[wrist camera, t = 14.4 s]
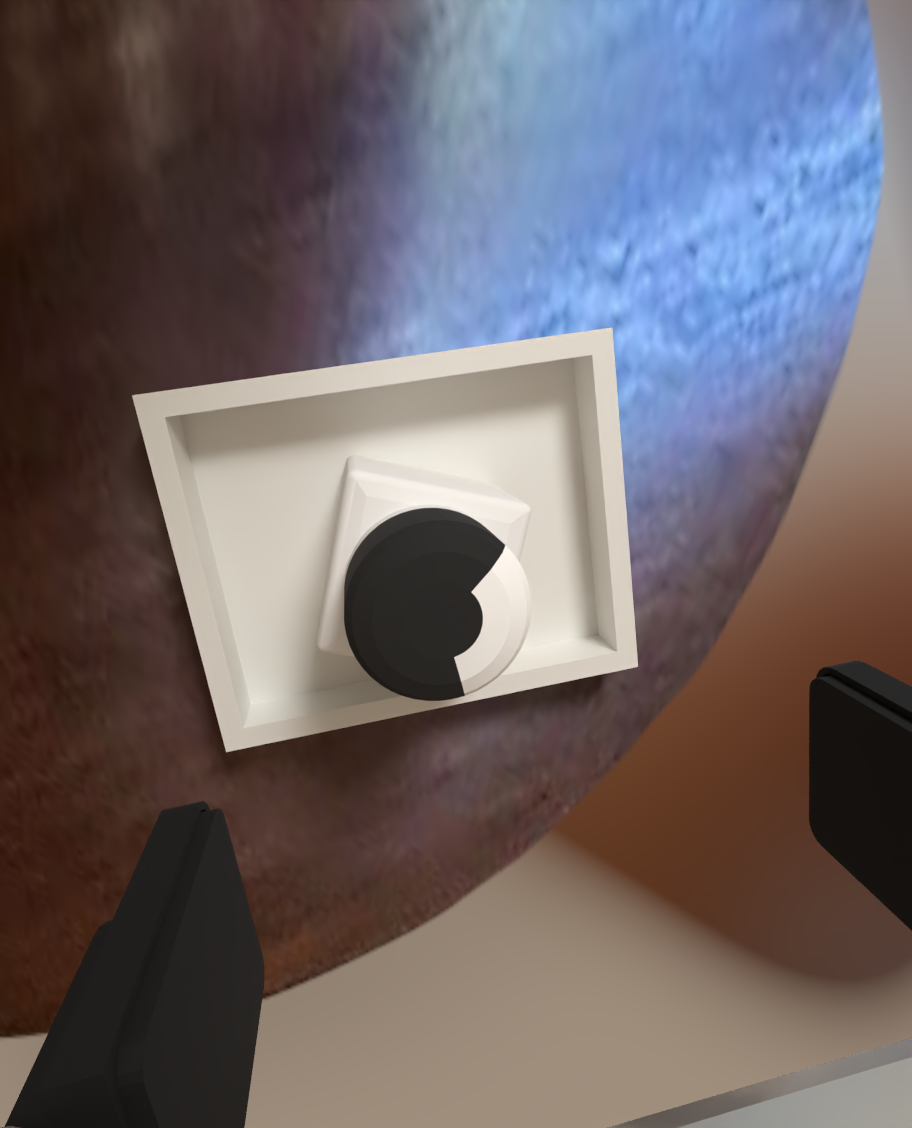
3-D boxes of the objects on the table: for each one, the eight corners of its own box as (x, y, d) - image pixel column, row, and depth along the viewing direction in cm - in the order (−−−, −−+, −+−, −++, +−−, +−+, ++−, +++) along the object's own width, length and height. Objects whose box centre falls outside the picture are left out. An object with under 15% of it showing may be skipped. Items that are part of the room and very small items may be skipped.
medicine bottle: (320, 599, 32) (306, 712, 20) (347, 453, 30) (347, 484, 19) (463, 622, 33) (525, 739, 22) (494, 483, 32) (579, 529, 20)
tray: (153, 396, 29) (132, 395, 26) (587, 334, 31) (612, 327, 28) (236, 721, 33) (226, 752, 30) (614, 645, 35) (638, 666, 32)
